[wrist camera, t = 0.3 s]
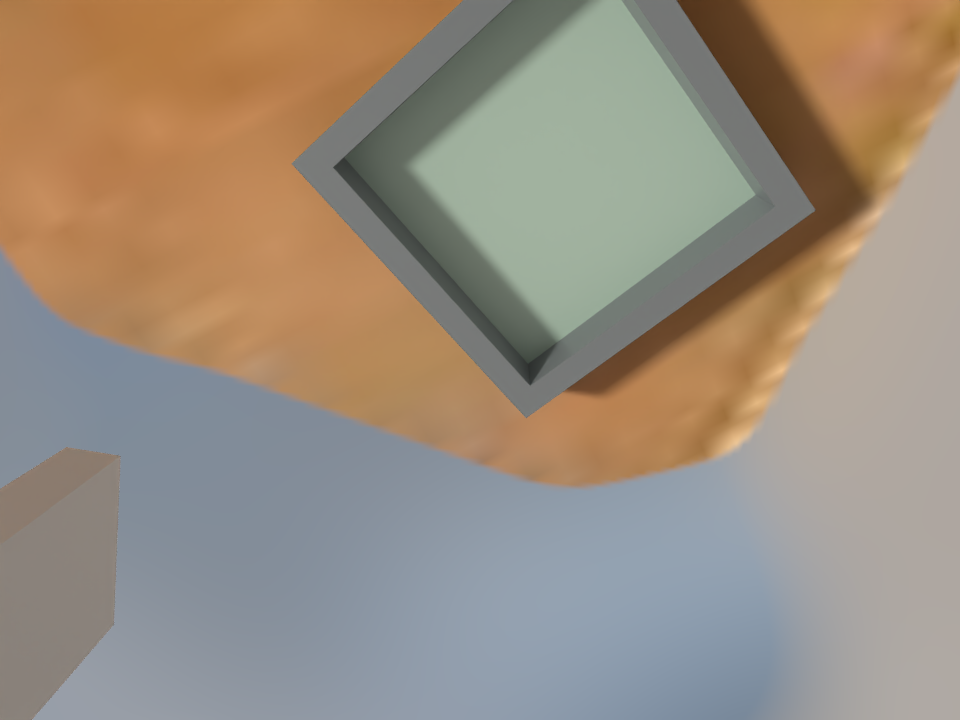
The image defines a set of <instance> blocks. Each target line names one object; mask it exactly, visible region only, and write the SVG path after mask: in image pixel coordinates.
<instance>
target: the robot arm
mask: <svg viewBox="0 0 960 720" xmlns="http://www.w3.org/2000/svg"><path fill="white" fill-rule="evenodd" d="M119 478H120V456H117V455H111V454H105V453H98V452H93V451H86V450H80V449H74V448H68V447H66V448H65V449H63V450H62V451H60V452H58V453H57V454H55V455H53V456H52V457H50V458H49V459H47V460H46V461H44V462H42V463H41V464H39V465H38V466H36V467H35V468H33V469H31V470H30V471H28V472H26V473H25V474H23V475H22V476H20V477H18V478H17V479H16V480H14V481H12V482H11V483H9V484H7V485H6V486H4V487H3V488H1V489H0V720H32V719H33V718H34V717H35V715H36V714H37V713H38V712H39V711H40V710H41V708H42V707H43V706H44V705H45V704H46V703H47V701H48V700H49V699H50V698H51V697H52V696H53V695H54V693H55V692H56V691H57V690H58V689H59V688H60V686H61V685H62V684H63V683H64V682H65V680H66V679H67V678H68V677H69V676H70V675H71V674H72V673H73V671H74V670H75V669H76V668H77V667H78V666H79V664H80V663H81V662H82V661H83V660H84V659H85V657H86V656H87V655H88V654H89V653H90V652H91V650H92V649H93V648H94V647H95V646H96V645H97V643H98V642H99V641H100V640H101V639H102V638H103V637H104V635H105V634H106V633H107V632H108V631H109V630H110V628H111V627H112V626H113V625H114V607H115V606H114V605H115V580H116V556H117V530H118V505H119Z"/></svg>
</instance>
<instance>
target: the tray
mask: <svg viewBox="0 0 960 720" xmlns="http://www.w3.org/2000/svg"><path fill="white" fill-rule="evenodd" d="M292 165H293V166H294V167H295V168H296V169H297V170H298V171H299V172H300V173H301V174H302V175H303V177H304V178H305V179H306V180H307V181H308V182H309V183H310V184H311V185H312V186H313V187H314V188H315V190H316V191H317V192H318V193H319V194H320V195H321V196H322V197H323V198H324V199H325V200H326V201H327V203H328V204H329V205H330V206H331V207H332V208H333V209H334V210H335V211H336V212H337V213H338V214H339V216H340V217H341V218H342V219H343V220H344V221H345V222H346V223H347V224H348V225H349V226H350V227H351V229H352V230H353V231H354V232H355V233H356V234H357V235H358V236H359V237H360V238H361V239H362V240H363V242H364V243H365V244H366V245H367V246H368V247H369V248H370V249H371V250H372V251H373V252H374V254H375V255H376V256H377V257H378V258H379V259H380V260H381V261H382V262H383V263H384V264H385V265H386V267H387V268H388V269H389V270H390V271H391V272H392V273H393V274H394V275H395V276H396V277H397V278H398V280H399V281H400V282H401V283H402V284H403V285H404V286H405V287H406V288H407V289H408V290H409V291H410V293H411V294H412V295H413V296H414V297H415V298H416V299H417V300H418V301H419V302H420V303H421V304H422V306H423V307H424V308H425V309H426V310H427V311H428V312H429V313H430V314H431V315H432V316H433V317H434V319H435V320H436V321H437V322H438V323H439V324H440V325H441V326H442V327H443V328H444V329H445V331H446V332H447V333H448V334H449V335H450V336H451V337H452V338H453V339H454V340H455V341H456V342H457V344H458V345H459V346H460V347H461V348H462V349H463V350H464V351H465V352H466V353H467V354H468V355H469V357H470V358H471V359H472V360H473V361H474V362H475V363H476V364H477V365H478V366H479V367H480V368H481V370H482V371H483V372H484V373H485V374H486V375H487V376H488V377H489V378H490V379H491V380H492V381H493V383H494V384H495V385H496V386H497V387H498V388H499V389H500V390H501V391H502V392H503V393H504V395H505V396H506V397H507V398H508V399H509V400H510V401H511V402H512V403H513V404H514V405H515V406H516V408H517V409H518V410H519V411H520V412H521V413H522V414H523V415H524V416H525V417H526V418H527V417H528V416H530V415H531V414H532V413H534V412H535V411H537V410H538V409H539V408H541V407H542V406H544V405H545V404H546V403H548V402H549V401H551V400H552V399H553V398H555V397H556V396H558V395H559V394H560V393H562V392H563V391H565V390H566V389H567V388H569V387H570V386H572V385H573V384H574V383H576V382H577V381H578V380H580V379H581V378H583V377H584V376H585V375H587V374H588V373H590V372H591V371H592V370H594V369H595V368H597V367H598V366H599V365H601V364H602V363H604V362H605V361H606V360H608V359H609V358H611V357H612V356H613V355H615V354H616V353H618V352H619V351H620V350H622V349H623V348H624V347H626V346H627V345H629V344H630V343H631V342H633V341H634V340H636V339H637V338H638V337H640V336H641V335H643V334H644V333H645V332H647V331H648V330H650V329H651V328H652V327H654V326H655V325H657V324H658V323H659V322H661V321H662V320H664V319H665V318H666V317H668V316H669V315H670V314H672V313H673V312H675V311H676V310H677V309H679V308H680V307H682V306H683V305H684V304H686V303H687V302H689V301H690V300H691V299H693V298H694V297H696V296H697V295H698V294H700V293H701V292H703V291H704V290H705V289H707V288H708V287H710V286H711V285H712V284H714V283H715V282H716V281H718V280H719V279H721V278H722V277H723V276H725V275H726V274H728V273H729V272H730V271H732V270H733V269H735V268H736V267H737V266H739V265H740V264H742V263H743V262H744V261H746V260H747V259H749V258H750V257H751V256H753V255H754V254H756V253H757V252H758V251H760V250H761V249H762V248H764V247H765V246H767V245H768V244H769V243H771V242H772V241H774V240H775V239H776V238H778V237H779V236H781V235H782V234H783V233H785V232H786V231H788V230H789V229H790V228H792V227H793V226H795V225H796V224H797V223H799V222H800V221H802V220H803V219H804V218H806V217H807V216H809V215H810V214H811V213H813V212H814V211H815V209H814V207H813V206H812V204H811V202H810V201H809V199H808V198H807V196H806V195H805V193H804V192H803V190H802V189H801V187H800V186H799V184H798V183H797V181H796V180H795V178H794V177H793V175H792V174H791V172H790V171H789V169H788V168H787V166H786V165H785V163H784V162H783V160H782V159H781V157H780V156H779V154H778V153H777V151H776V150H775V148H774V147H773V145H772V144H771V142H770V141H769V139H768V138H767V136H766V135H765V133H764V132H763V130H762V129H761V127H760V126H759V124H758V123H757V121H756V120H755V118H754V117H753V115H752V114H751V112H750V111H749V109H748V108H747V106H746V105H745V103H744V101H743V100H742V98H741V97H740V95H739V94H738V92H737V91H736V89H735V88H734V86H733V85H732V83H731V82H730V80H729V79H728V77H727V76H726V74H725V73H724V71H723V70H722V68H721V67H720V65H719V64H718V62H717V61H716V59H715V58H714V56H713V55H712V53H711V52H710V50H709V49H708V47H707V46H706V44H705V43H704V41H703V40H702V38H701V37H700V35H699V34H698V32H697V31H696V29H695V28H694V26H693V25H692V23H691V22H690V20H689V19H688V17H687V16H686V14H685V13H684V11H683V10H682V8H681V7H680V5H679V4H678V2H677V1H676V0H463V1H462V2H461V3H460V4H459V5H458V6H457V7H456V8H455V9H454V10H453V11H452V12H450V13H449V14H448V15H447V16H446V17H445V18H444V19H443V20H442V21H441V22H440V23H439V24H438V25H437V26H436V27H435V28H434V29H433V30H432V31H431V32H429V33H428V34H427V35H426V36H425V37H424V38H423V39H422V40H421V41H420V42H419V43H418V44H417V45H416V46H415V47H414V48H413V49H412V50H411V51H410V52H408V53H407V54H406V55H405V56H404V57H403V58H402V59H401V60H400V61H399V62H398V63H397V64H396V65H395V66H394V67H393V68H392V69H391V70H390V71H388V72H387V73H386V74H385V75H384V76H383V77H382V78H381V79H380V80H379V81H378V82H377V83H376V84H375V85H374V86H373V87H372V88H371V89H370V90H369V91H367V92H366V93H365V94H364V95H363V96H362V97H361V98H360V99H359V100H358V101H357V102H356V103H355V104H354V105H353V106H352V107H351V108H350V109H349V110H348V111H346V112H345V113H344V114H343V115H342V116H341V117H340V118H339V119H338V120H337V121H336V122H335V123H334V124H333V125H332V126H331V127H330V128H329V129H328V130H327V131H325V132H324V133H323V134H322V135H321V136H320V137H319V138H318V139H317V140H316V141H315V142H314V143H313V144H312V145H311V146H310V147H309V148H308V149H307V150H305V151H304V152H303V153H302V154H301V155H300V156H299V157H298V158H297V159H296V160H295V161H294V162H293V163H292Z"/></svg>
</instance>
